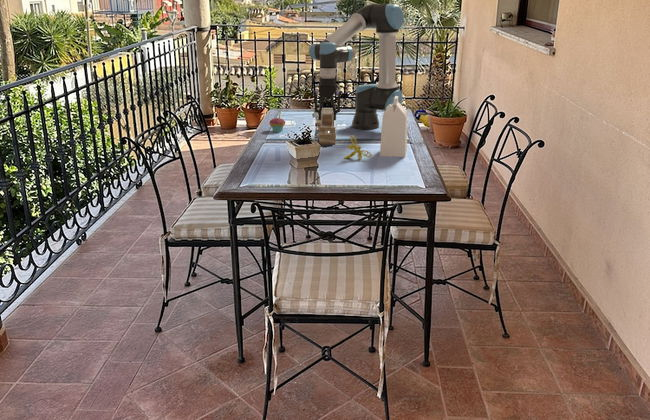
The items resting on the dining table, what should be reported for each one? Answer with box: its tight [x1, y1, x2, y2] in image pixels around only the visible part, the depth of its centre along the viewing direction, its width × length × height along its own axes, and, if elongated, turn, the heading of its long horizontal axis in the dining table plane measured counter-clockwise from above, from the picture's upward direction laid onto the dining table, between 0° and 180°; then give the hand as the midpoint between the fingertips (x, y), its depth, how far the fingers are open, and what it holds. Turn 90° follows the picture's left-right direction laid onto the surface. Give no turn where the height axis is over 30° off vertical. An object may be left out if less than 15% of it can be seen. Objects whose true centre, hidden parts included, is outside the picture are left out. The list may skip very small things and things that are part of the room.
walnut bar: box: [322, 113, 332, 126], centre depth 272 cm, size 11×4×4 cm, turn 179°
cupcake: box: [268, 109, 286, 133], centre depth 307 cm, size 9×8×12 cm
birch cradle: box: [318, 126, 336, 145], centre depth 290 cm, size 16×8×5 cm, turn 179°
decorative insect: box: [343, 134, 373, 160], centre depth 258 cm, size 13×3×10 cm
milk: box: [379, 96, 408, 158], centre depth 264 cm, size 12×12×26 cm
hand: (327, 126), depth 274 cm, fingers closed on walnut bar, 4 cm apart
